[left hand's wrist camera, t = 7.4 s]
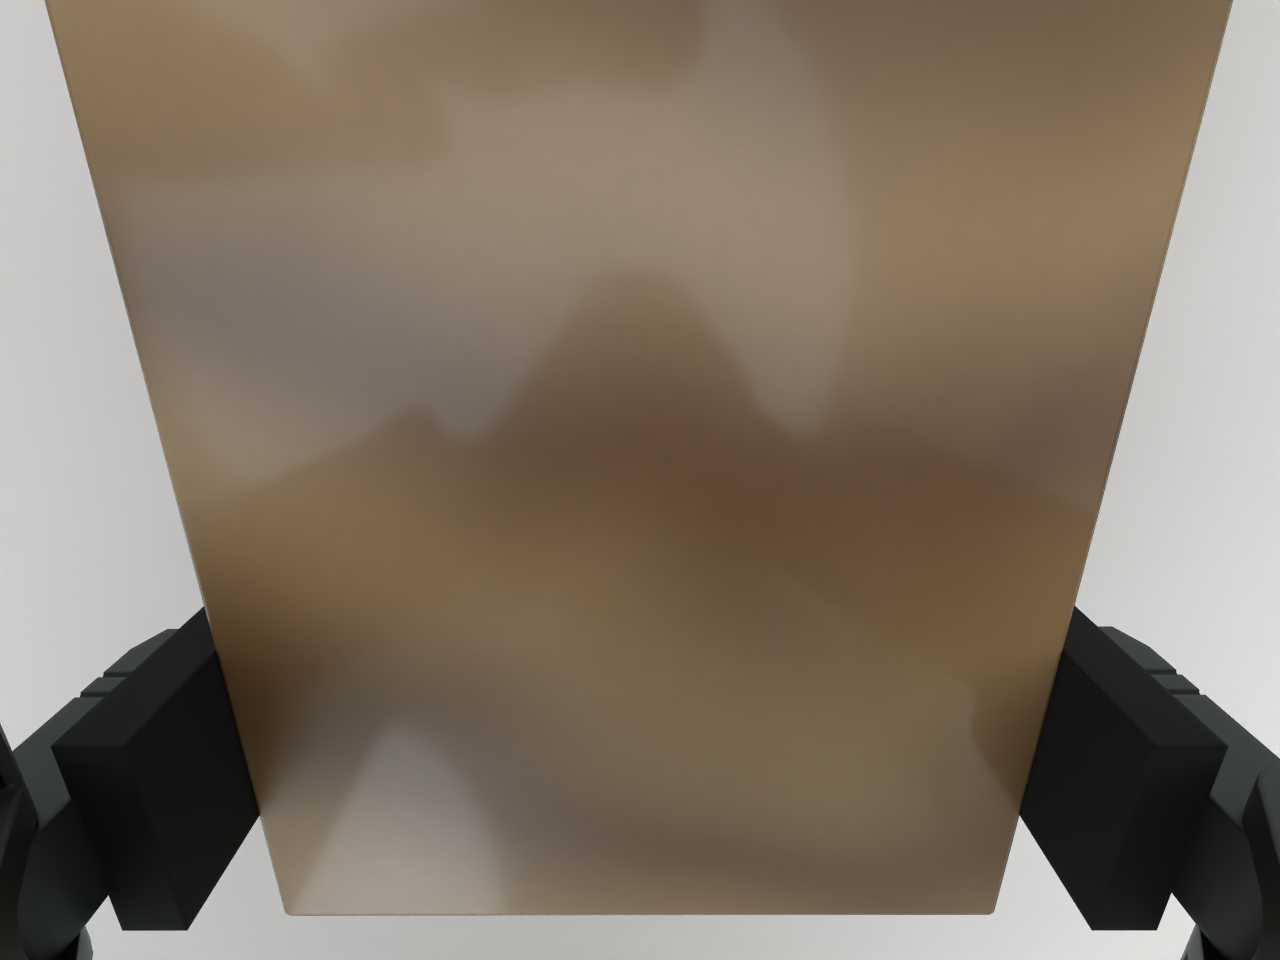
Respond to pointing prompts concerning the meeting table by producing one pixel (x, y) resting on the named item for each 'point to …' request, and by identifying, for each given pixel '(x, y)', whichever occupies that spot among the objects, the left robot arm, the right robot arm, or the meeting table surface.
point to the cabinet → (639, 418)
